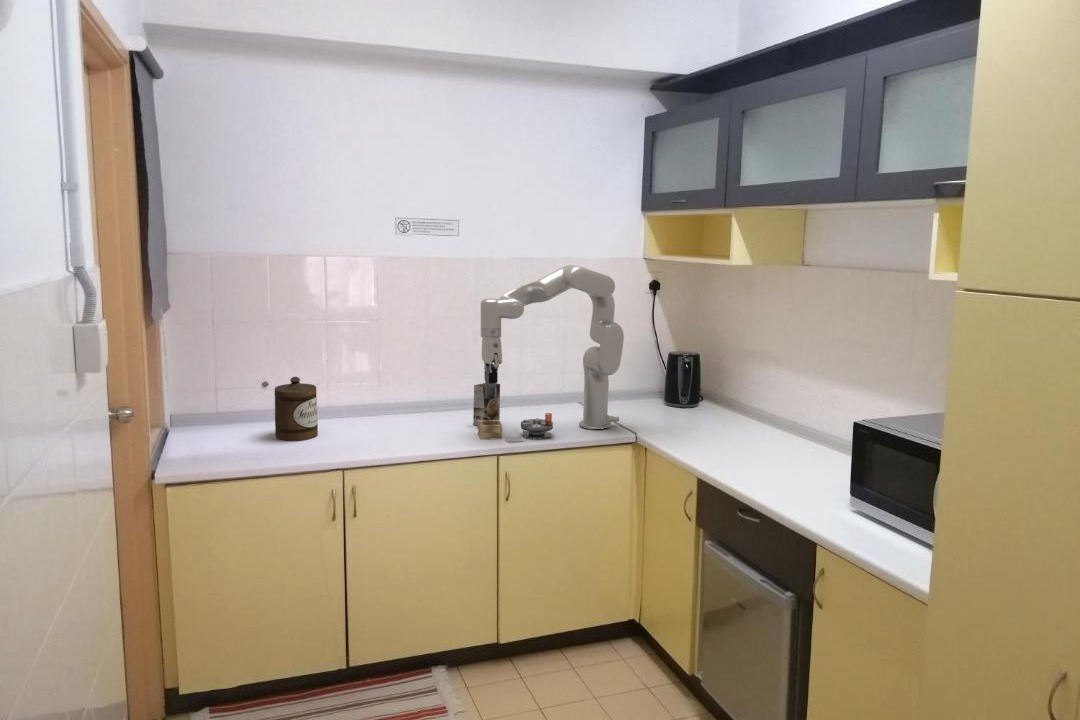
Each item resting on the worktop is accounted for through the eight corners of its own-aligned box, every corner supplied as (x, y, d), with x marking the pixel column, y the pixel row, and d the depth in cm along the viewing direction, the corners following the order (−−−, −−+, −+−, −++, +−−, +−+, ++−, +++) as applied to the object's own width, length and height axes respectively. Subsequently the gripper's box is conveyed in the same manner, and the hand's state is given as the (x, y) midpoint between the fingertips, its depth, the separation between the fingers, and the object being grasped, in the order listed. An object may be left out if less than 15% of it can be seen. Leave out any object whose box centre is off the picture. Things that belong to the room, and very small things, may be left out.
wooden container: (305, 442, 279) (303, 382, 275) (267, 439, 282) (265, 379, 278) (325, 432, 294) (323, 374, 290) (288, 429, 296) (286, 371, 293)
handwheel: (514, 428, 292) (514, 412, 291) (531, 422, 302) (532, 406, 301) (542, 433, 286) (542, 417, 285) (559, 426, 296) (559, 411, 295)
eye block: (498, 432, 297) (499, 419, 297) (502, 438, 290) (502, 425, 289) (477, 433, 296) (478, 420, 295) (480, 439, 288) (480, 425, 287)
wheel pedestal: (545, 431, 300) (546, 425, 300) (550, 438, 291) (551, 431, 291) (522, 432, 298) (522, 426, 298) (527, 439, 290) (527, 432, 289)
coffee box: (485, 427, 304) (485, 387, 301) (472, 425, 308) (473, 384, 305) (500, 423, 311) (500, 383, 308) (488, 420, 315) (488, 381, 312)
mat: (520, 437, 292) (520, 436, 291) (523, 441, 286) (523, 440, 286) (504, 438, 290) (504, 436, 290) (507, 442, 285) (507, 441, 285)
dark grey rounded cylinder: (494, 397, 293) (495, 365, 291) (496, 399, 289) (497, 367, 287) (483, 397, 292) (485, 365, 290) (485, 399, 288) (486, 367, 286)
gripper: (508, 335, 280) (508, 385, 283) (492, 329, 295) (492, 376, 298) (488, 336, 277) (488, 387, 280) (473, 330, 292) (474, 378, 295)
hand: (491, 381), depth 289 cm, fingers closed on dark grey rounded cylinder, 4 cm apart
